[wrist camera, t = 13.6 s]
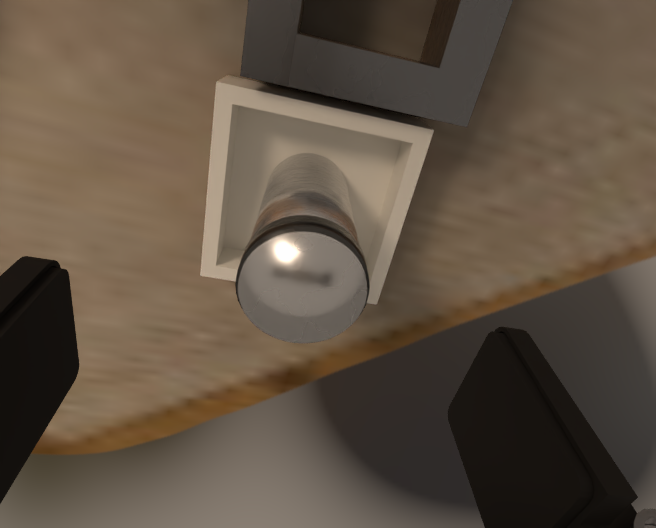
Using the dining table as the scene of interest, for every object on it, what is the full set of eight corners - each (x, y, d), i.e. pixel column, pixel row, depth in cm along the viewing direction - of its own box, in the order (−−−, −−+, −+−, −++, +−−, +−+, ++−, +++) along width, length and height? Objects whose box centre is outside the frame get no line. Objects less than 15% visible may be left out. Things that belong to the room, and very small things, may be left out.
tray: (227, 74, 19) (216, 81, 17) (420, 118, 20) (434, 130, 18) (211, 251, 23) (200, 275, 21) (370, 278, 24) (376, 304, 22)
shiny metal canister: (271, 142, 20) (242, 219, 12) (358, 160, 20) (386, 245, 12) (259, 223, 22) (227, 335, 14) (339, 238, 22) (352, 354, 14)
